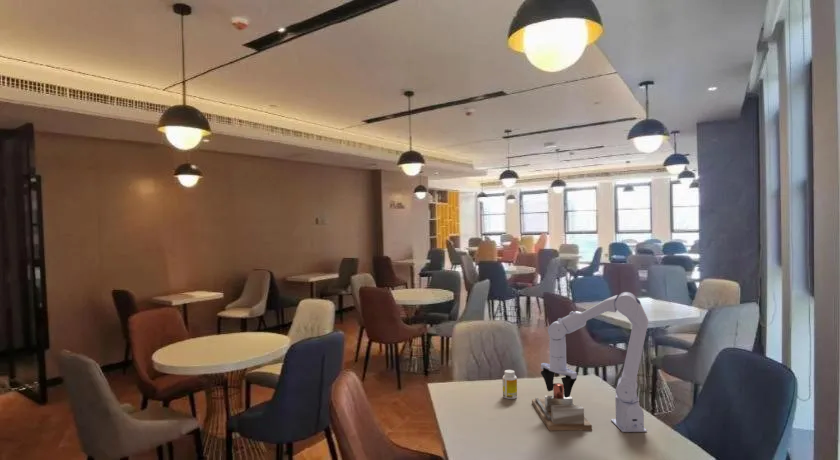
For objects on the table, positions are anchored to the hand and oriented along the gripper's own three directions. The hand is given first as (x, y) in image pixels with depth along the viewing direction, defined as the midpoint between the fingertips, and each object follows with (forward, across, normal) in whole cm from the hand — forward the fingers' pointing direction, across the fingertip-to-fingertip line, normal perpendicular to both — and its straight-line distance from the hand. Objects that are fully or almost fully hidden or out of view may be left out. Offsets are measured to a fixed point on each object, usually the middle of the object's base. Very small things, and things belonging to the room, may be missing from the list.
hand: (558, 393), depth 167 cm
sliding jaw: (+6, 0, 0) cm, 6 cm away
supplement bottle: (+8, +23, +2) cm, 24 cm away
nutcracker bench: (+7, -1, 0) cm, 7 cm away
